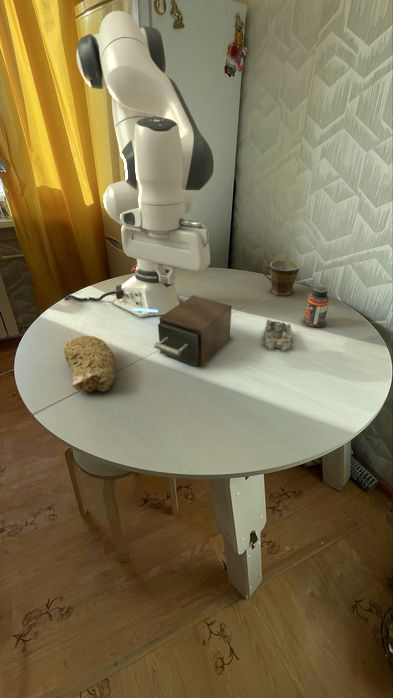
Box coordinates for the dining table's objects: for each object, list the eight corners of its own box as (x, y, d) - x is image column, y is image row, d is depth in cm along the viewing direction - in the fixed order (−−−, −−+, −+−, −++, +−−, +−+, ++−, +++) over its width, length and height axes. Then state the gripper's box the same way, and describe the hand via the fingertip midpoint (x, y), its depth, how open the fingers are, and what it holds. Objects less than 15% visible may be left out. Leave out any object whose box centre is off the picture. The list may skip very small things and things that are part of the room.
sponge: (121, 394, 83) (117, 337, 97) (110, 374, 77) (108, 316, 91) (66, 408, 83) (71, 348, 96) (51, 388, 77) (58, 328, 91)
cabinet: (201, 366, 90) (201, 330, 84) (162, 352, 95) (159, 317, 90) (230, 338, 101) (231, 305, 95) (192, 327, 106) (192, 295, 100)
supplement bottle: (300, 319, 110) (306, 285, 103) (317, 317, 111) (324, 283, 104) (309, 329, 105) (316, 294, 98) (327, 326, 106) (335, 291, 100)
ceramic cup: (295, 287, 130) (299, 261, 124) (295, 299, 122) (300, 271, 116) (260, 284, 132) (262, 258, 127) (257, 295, 124) (260, 268, 119)
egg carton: (290, 352, 95) (292, 339, 92) (261, 348, 96) (263, 335, 94) (291, 332, 103) (293, 320, 101) (265, 329, 105) (267, 317, 103)
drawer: (186, 376, 85) (185, 345, 80) (149, 361, 90) (145, 332, 85) (223, 339, 99) (225, 311, 94) (189, 329, 104) (189, 302, 99)
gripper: (216, 219, 67) (215, 287, 74) (133, 207, 76) (140, 269, 84) (199, 227, 62) (199, 298, 70) (113, 213, 71) (122, 278, 79)
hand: (166, 282), depth 77 cm, fingers closed
